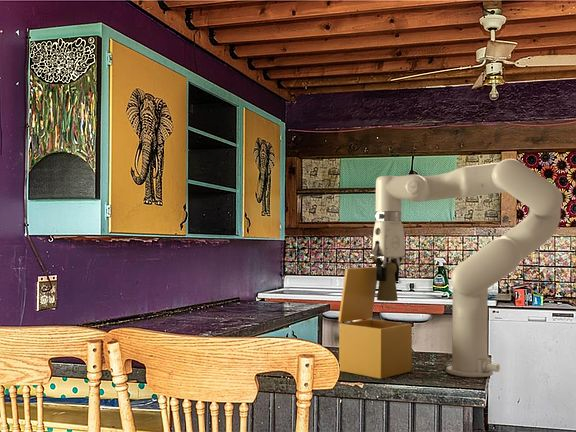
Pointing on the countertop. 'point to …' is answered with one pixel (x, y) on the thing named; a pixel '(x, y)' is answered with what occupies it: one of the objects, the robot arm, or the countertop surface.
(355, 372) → the chest
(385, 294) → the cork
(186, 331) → the countertop surface
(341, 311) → the lid
